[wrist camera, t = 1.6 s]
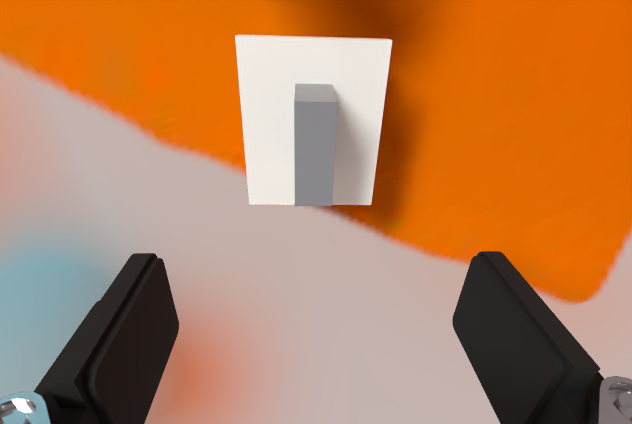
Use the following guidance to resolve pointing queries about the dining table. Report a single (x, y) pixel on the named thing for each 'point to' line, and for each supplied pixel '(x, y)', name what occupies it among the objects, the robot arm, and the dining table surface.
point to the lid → (311, 117)
